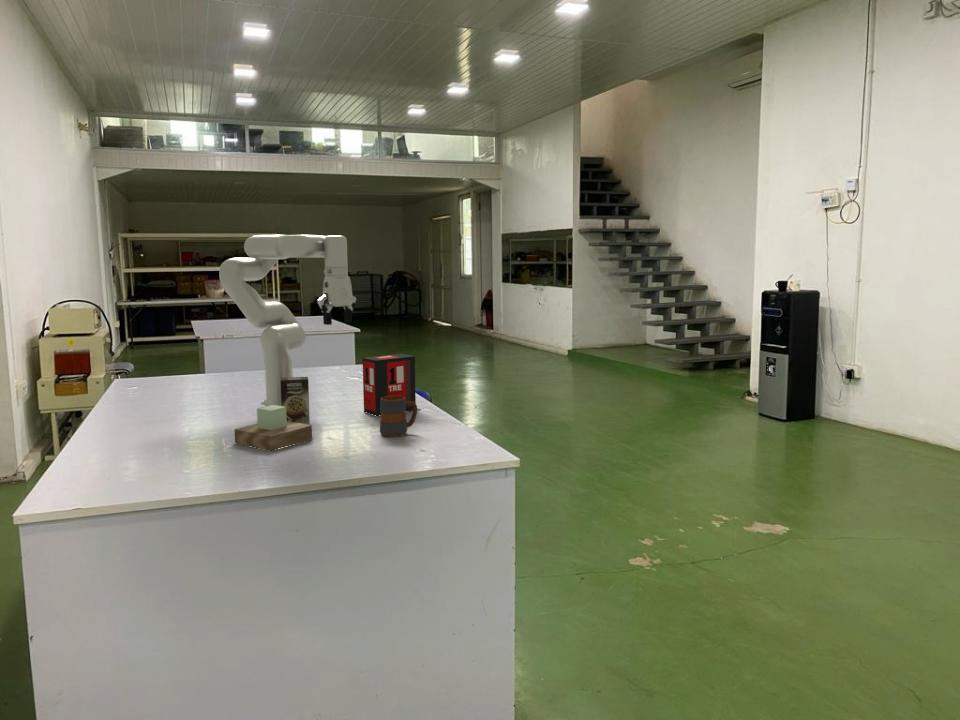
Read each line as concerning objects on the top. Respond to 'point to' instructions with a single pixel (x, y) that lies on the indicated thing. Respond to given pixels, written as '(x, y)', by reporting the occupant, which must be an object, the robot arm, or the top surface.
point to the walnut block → (273, 435)
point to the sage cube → (271, 417)
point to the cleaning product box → (388, 380)
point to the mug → (395, 415)
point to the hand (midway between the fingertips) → (338, 323)
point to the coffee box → (295, 399)
